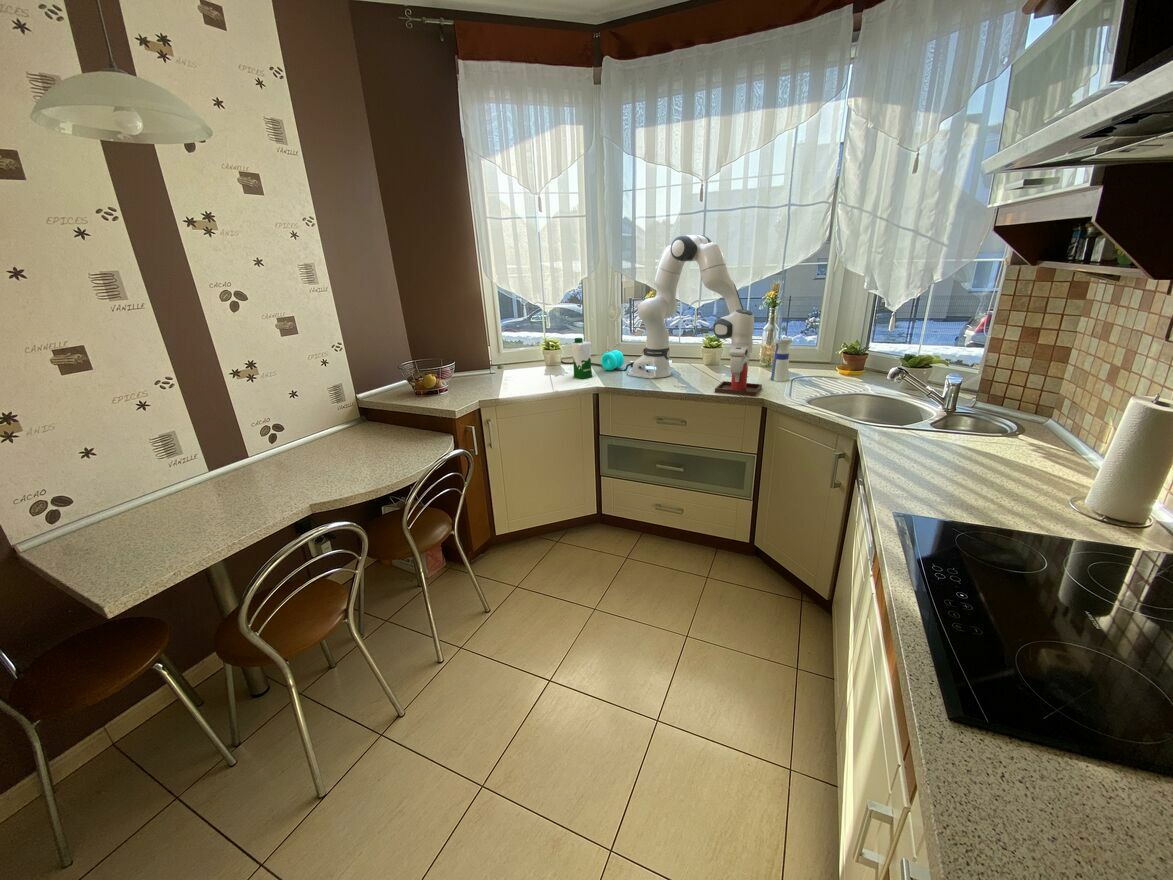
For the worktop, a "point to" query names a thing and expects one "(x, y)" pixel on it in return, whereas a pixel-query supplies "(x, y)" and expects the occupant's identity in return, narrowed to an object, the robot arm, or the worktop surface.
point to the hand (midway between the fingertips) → (739, 379)
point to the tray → (750, 390)
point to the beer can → (743, 379)
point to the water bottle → (781, 359)
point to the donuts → (612, 360)
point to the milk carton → (581, 358)
